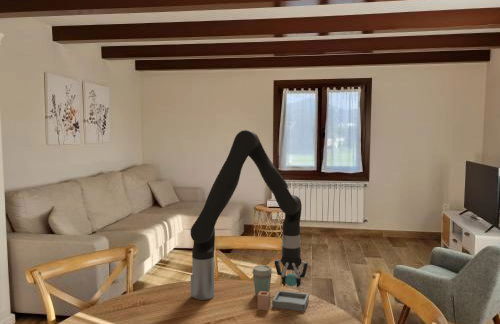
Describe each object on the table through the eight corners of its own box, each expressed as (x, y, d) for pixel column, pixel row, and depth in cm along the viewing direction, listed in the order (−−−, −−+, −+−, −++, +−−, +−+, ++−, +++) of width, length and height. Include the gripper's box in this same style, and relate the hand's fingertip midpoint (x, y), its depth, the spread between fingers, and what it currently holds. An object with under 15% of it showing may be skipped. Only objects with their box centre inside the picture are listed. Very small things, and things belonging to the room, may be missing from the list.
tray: (272, 307, 162) (272, 300, 162) (278, 296, 173) (278, 290, 172) (304, 311, 158) (304, 304, 158) (308, 300, 169) (308, 294, 169)
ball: (283, 287, 163) (283, 275, 163) (286, 283, 168) (286, 271, 168) (296, 288, 162) (296, 276, 162) (298, 284, 167) (298, 272, 166)
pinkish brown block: (257, 309, 160) (257, 294, 160) (260, 305, 164) (260, 290, 164) (267, 310, 159) (267, 296, 159) (270, 306, 163) (270, 292, 163)
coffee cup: (270, 300, 169) (270, 272, 168) (250, 298, 171) (250, 270, 170) (273, 292, 178) (273, 265, 177) (254, 290, 179) (254, 264, 178)
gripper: (271, 246, 162) (272, 287, 164) (307, 248, 158) (307, 291, 159) (276, 241, 169) (276, 280, 171) (310, 243, 165) (310, 284, 167)
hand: (291, 285), depth 165 cm, fingers closed on ball, 5 cm apart
